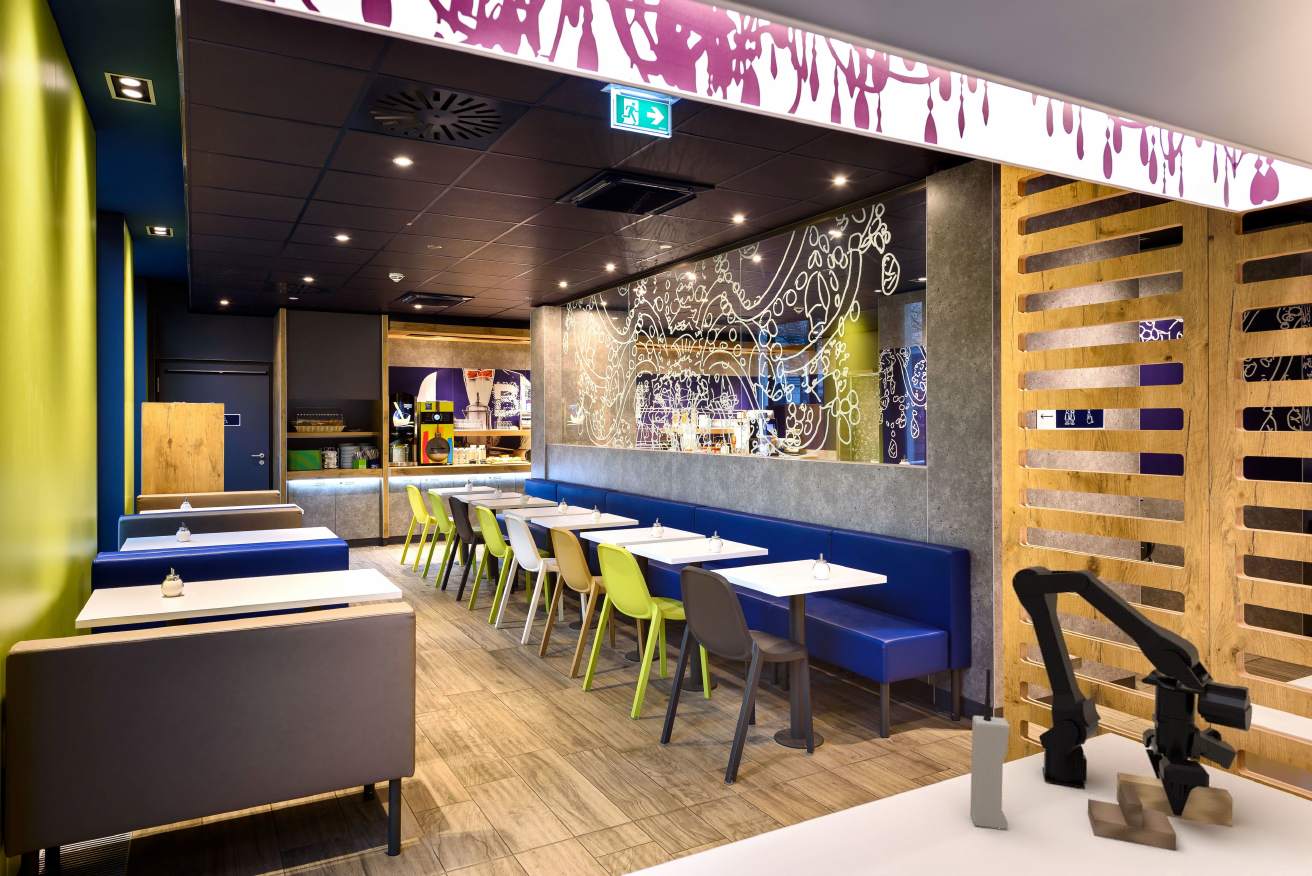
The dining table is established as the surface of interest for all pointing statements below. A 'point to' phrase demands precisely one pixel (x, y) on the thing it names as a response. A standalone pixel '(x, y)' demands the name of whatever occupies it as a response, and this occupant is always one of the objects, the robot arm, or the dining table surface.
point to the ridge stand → (1131, 821)
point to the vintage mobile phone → (988, 766)
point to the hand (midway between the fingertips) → (1172, 806)
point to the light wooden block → (1199, 805)
